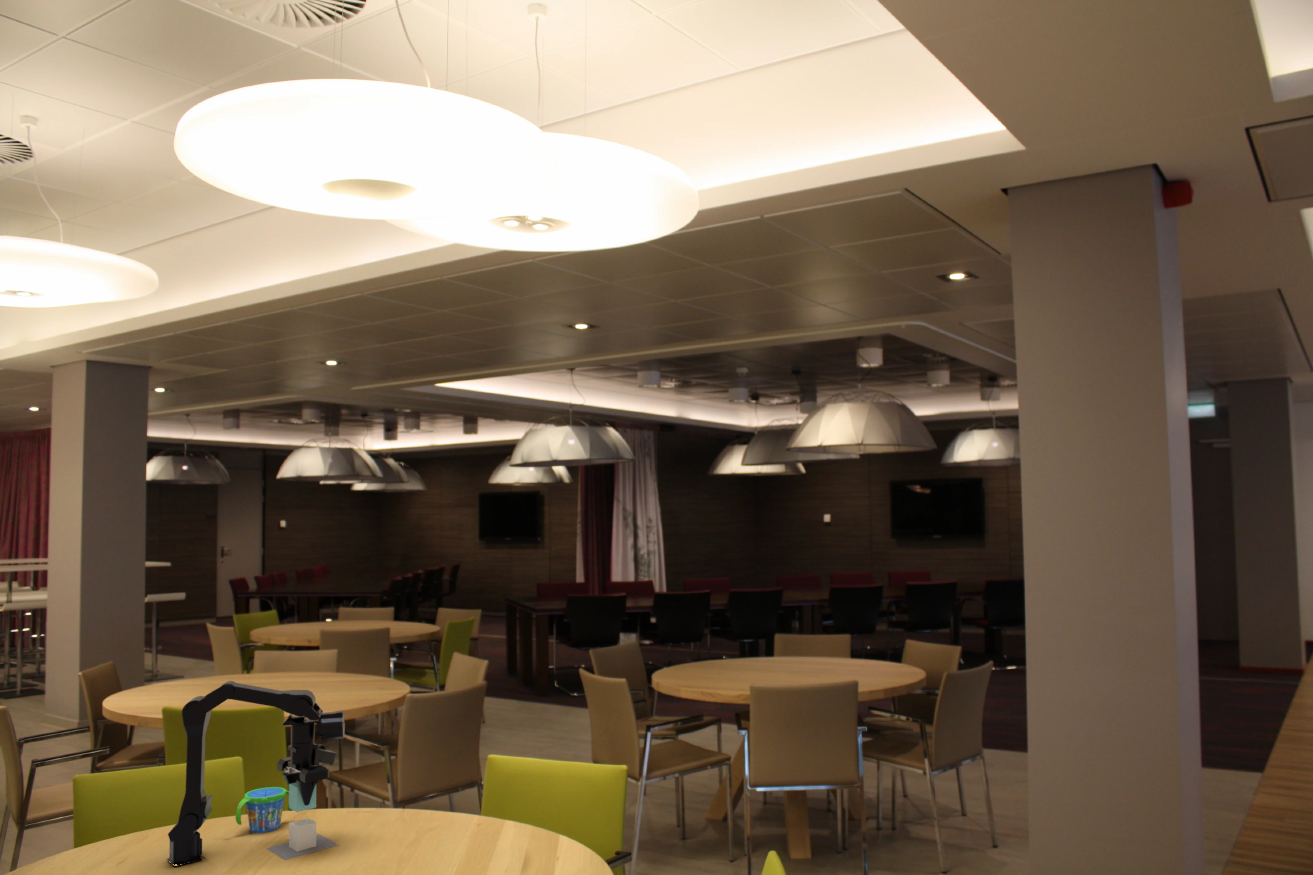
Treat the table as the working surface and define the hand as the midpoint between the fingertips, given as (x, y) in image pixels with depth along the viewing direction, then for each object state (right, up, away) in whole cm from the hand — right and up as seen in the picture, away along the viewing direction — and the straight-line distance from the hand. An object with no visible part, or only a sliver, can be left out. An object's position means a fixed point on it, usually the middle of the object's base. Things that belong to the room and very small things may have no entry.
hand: (302, 802), depth 242 cm
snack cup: (-16, -13, +14) cm, 25 cm away
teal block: (0, -1, 0) cm, 1 cm away
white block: (0, -11, -1) cm, 11 cm away
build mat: (0, -12, -1) cm, 12 cm away
